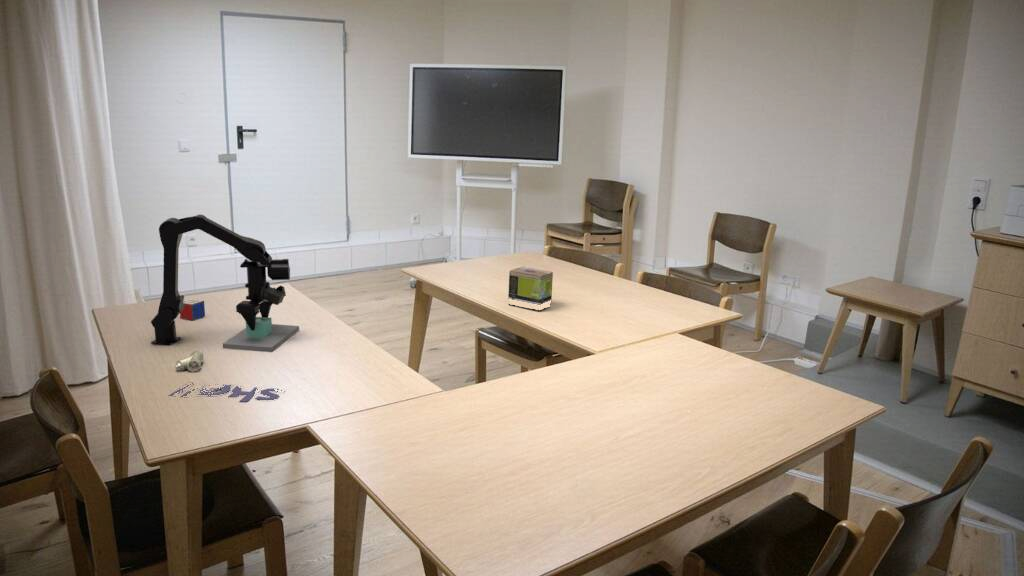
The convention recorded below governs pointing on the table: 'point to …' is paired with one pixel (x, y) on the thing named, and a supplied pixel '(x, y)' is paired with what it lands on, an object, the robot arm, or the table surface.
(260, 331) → the bead
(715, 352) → the table surface
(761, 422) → the table surface
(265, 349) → the peg board
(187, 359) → the pipe fitting
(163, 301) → the robot arm
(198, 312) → the puzzle
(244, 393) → the signage
